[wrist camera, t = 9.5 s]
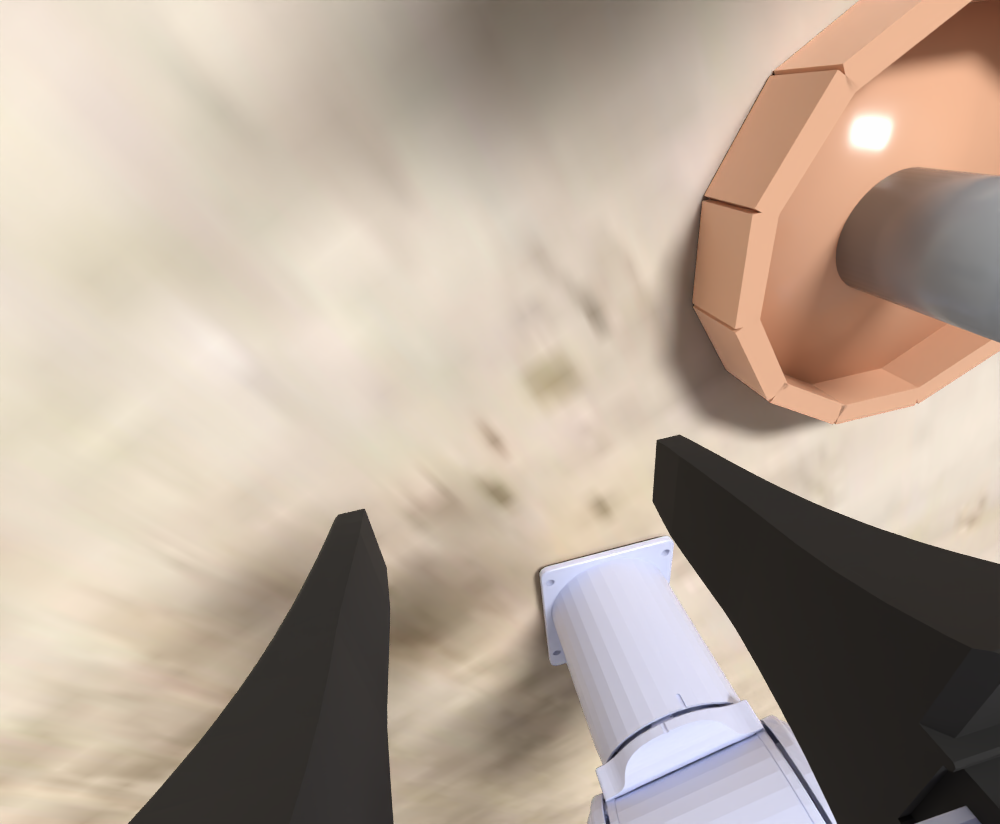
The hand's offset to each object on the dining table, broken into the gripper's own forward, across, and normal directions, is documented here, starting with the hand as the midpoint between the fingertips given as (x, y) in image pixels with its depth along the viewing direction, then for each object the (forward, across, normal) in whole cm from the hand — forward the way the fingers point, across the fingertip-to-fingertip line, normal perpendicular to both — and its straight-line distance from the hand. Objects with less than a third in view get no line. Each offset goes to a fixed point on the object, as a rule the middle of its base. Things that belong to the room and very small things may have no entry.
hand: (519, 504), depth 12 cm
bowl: (+9, -18, -2) cm, 20 cm away
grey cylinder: (+8, -18, -2) cm, 20 cm away
